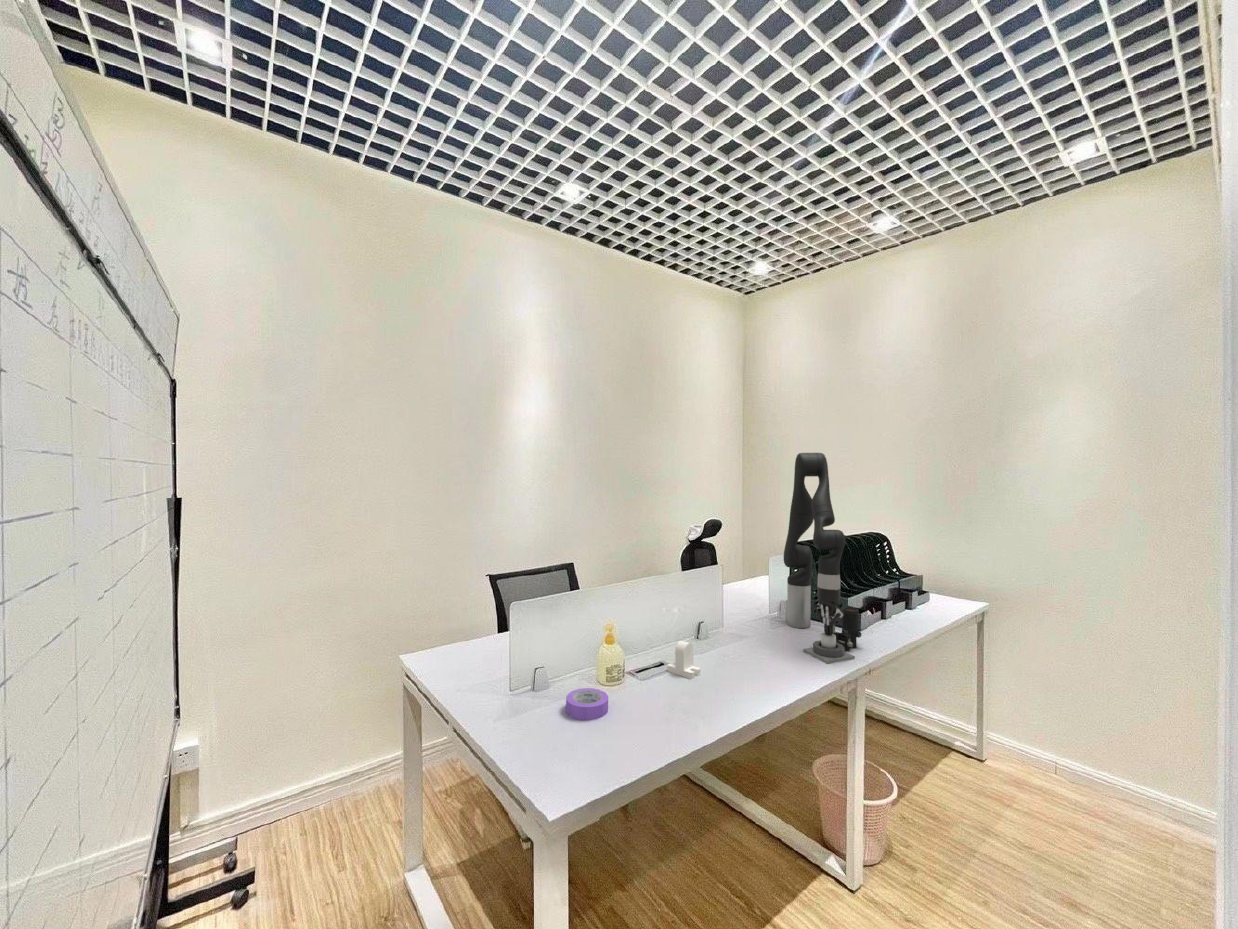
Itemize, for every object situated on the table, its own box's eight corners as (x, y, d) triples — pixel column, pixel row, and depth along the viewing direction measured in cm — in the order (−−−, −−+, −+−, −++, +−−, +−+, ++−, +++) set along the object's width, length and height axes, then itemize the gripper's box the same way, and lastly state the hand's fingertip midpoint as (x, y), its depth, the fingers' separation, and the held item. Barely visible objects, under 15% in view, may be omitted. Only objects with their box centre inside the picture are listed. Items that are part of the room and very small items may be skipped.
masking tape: (597, 697, 153) (597, 684, 152) (615, 715, 142) (615, 701, 142) (559, 706, 147) (559, 692, 147) (575, 725, 137) (575, 710, 137)
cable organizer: (691, 679, 165) (691, 648, 165) (666, 670, 171) (666, 640, 171) (701, 674, 169) (701, 643, 168) (676, 666, 175) (676, 636, 175)
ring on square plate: (803, 651, 188) (803, 641, 188) (829, 647, 193) (829, 637, 193) (827, 663, 177) (827, 653, 177) (854, 659, 182) (854, 649, 182)
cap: (818, 651, 186) (818, 633, 186) (827, 648, 188) (827, 631, 188) (829, 655, 182) (829, 637, 182) (838, 653, 184) (838, 635, 184)
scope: (830, 609, 194) (845, 604, 200) (830, 646, 194) (845, 640, 200) (851, 614, 187) (866, 609, 193) (851, 653, 187) (866, 647, 193)
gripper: (807, 582, 189) (807, 630, 189) (834, 591, 177) (834, 642, 177) (823, 581, 192) (823, 628, 192) (851, 589, 180) (851, 639, 180)
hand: (828, 634), depth 185 cm, fingers closed
